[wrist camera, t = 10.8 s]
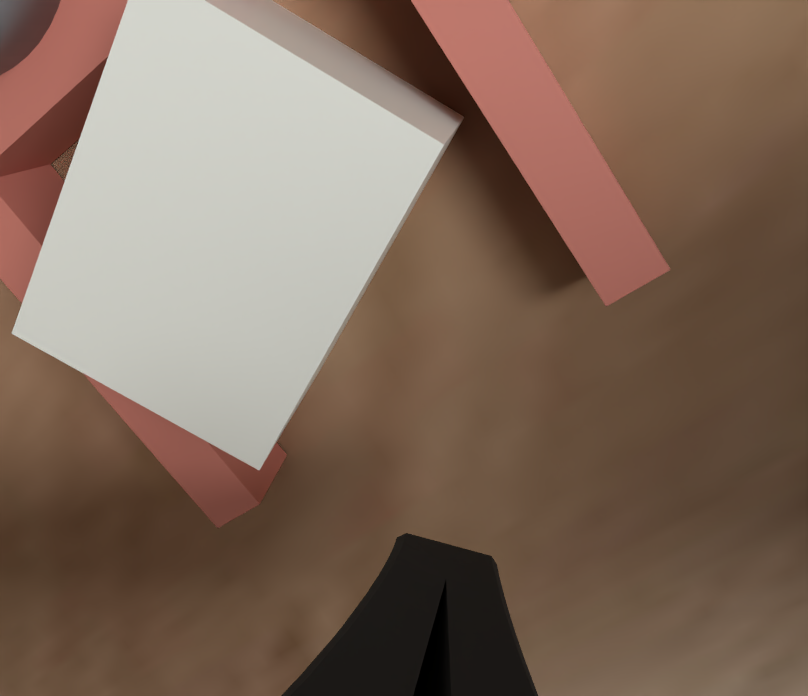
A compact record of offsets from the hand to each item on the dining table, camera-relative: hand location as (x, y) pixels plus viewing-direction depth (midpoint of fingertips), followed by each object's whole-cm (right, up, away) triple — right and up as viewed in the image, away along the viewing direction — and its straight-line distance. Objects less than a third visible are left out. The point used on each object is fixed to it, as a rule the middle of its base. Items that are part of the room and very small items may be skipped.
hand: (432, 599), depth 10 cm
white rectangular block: (-3, +7, +5) cm, 8 cm away
